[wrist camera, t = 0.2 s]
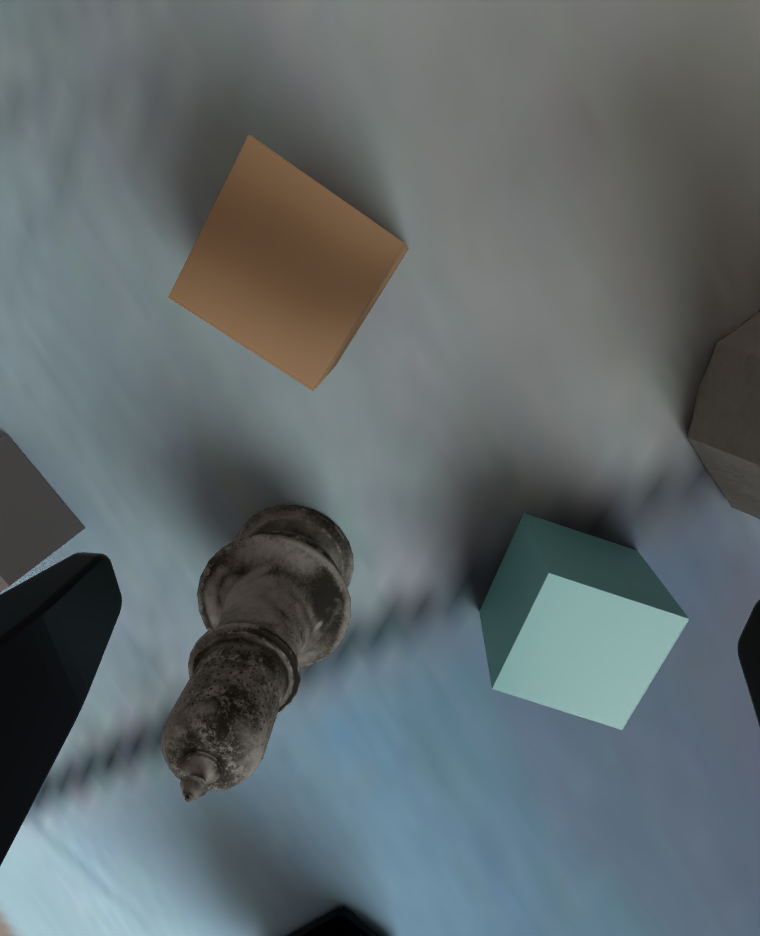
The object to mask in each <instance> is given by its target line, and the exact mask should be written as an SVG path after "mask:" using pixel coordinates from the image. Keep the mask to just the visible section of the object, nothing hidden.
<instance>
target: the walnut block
mask: <svg viewBox="0 0 760 936" xmlns="http://www.w3.org/2000/svg"><path fill="white" fill-rule="evenodd" d="M407 250H408V248H407V246H406V245H405V243H404V242H402V241H401V240H399V239H398V238H396V237H395V236H394V235H392V234H391V233H389V232H388V231H386V230H385V229H384V228H382V227H381V226H379V225H378V224H376V223H375V222H374V221H372V220H371V219H369V218H368V217H366V216H365V215H364V214H362V213H361V212H359V211H358V210H356V209H355V208H354V207H352V206H351V205H349V204H348V203H346V202H345V201H344V200H342V199H341V198H339V197H338V196H336V195H335V194H334V193H332V192H331V191H329V190H328V189H326V188H325V187H324V186H322V185H321V184H319V183H318V182H316V181H315V180H314V179H312V178H311V177H309V176H308V175H306V174H305V173H304V172H302V171H301V170H299V169H298V168H296V167H295V166H294V165H292V164H291V163H289V162H288V161H286V160H285V159H284V158H282V157H281V156H279V155H278V154H276V153H275V152H274V151H272V150H271V149H269V148H268V147H266V146H265V145H264V144H262V143H261V142H259V141H258V140H256V139H255V138H254V137H252V136H251V135H248V137H247V139H246V141H245V143H244V145H243V147H242V149H241V151H240V153H239V155H238V157H237V159H236V161H235V163H234V165H233V167H232V169H231V171H230V173H229V175H228V177H227V179H226V181H225V183H224V185H223V187H222V189H221V191H220V193H219V195H218V197H217V200H216V202H215V204H214V206H213V208H212V210H211V212H210V214H209V216H208V218H207V220H206V222H205V224H204V226H203V228H202V230H201V232H200V234H199V236H198V238H197V240H196V242H195V244H194V246H193V248H192V250H191V252H190V254H189V256H188V258H187V260H186V262H185V264H184V266H183V268H182V271H181V273H180V275H179V277H178V279H177V281H176V283H175V285H174V287H173V289H172V291H171V293H170V295H169V298H170V299H172V300H173V301H175V302H176V303H178V304H179V305H181V306H182V307H184V308H186V309H187V310H189V311H190V312H192V313H193V314H195V315H196V316H198V317H200V318H201V319H203V320H204V321H206V322H207V323H209V324H210V325H212V326H213V327H215V328H217V329H218V330H220V331H221V332H223V333H224V334H226V335H227V336H229V337H230V338H232V339H234V340H235V341H237V342H238V343H240V344H241V345H243V346H244V347H246V348H247V349H249V350H251V351H252V352H254V353H255V354H257V355H258V356H260V357H261V358H263V359H264V360H266V361H268V362H269V363H271V364H272V365H274V366H275V367H277V368H278V369H280V370H281V371H283V372H285V373H286V374H288V375H289V376H291V377H292V378H294V379H295V380H297V381H298V382H300V383H302V384H303V385H305V386H306V387H308V388H309V389H311V390H312V391H313V390H314V389H315V388H316V387H317V386H318V385H319V384H320V383H321V381H322V380H323V379H324V378H325V377H326V376H327V375H328V374H329V373H330V371H331V370H332V369H333V368H334V367H335V366H336V364H337V363H338V361H339V360H340V358H341V356H342V355H343V353H344V352H345V350H346V348H347V347H348V345H349V344H350V342H351V340H352V339H353V337H354V336H355V334H356V332H357V331H358V329H359V327H360V326H361V324H362V323H363V321H364V319H365V318H366V316H367V315H368V313H369V311H370V310H371V308H372V307H373V305H374V303H375V302H376V300H377V299H378V297H379V295H380V294H381V292H382V290H383V289H384V287H385V286H386V284H387V282H388V281H389V279H390V278H391V276H392V274H393V273H394V271H395V270H396V268H397V266H398V265H399V263H400V262H401V260H402V258H403V257H404V255H405V253H406V252H407Z"/></svg>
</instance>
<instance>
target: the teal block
mask: <svg viewBox="0 0 760 936" xmlns="http://www.w3.org/2000/svg"><path fill="white" fill-rule="evenodd" d="M479 613H480V619H481V625H482V631H483V637H484V643H485V649H486V655H487V661H488V667H489V673H490V679H491V685H492V689H494V690H498V691H501V692H504V693H507V694H510V695H513V696H516V697H520V698H523V699H526V700H529V701H532V702H535V703H539V704H542V705H545V706H548V707H551V708H554V709H558V710H561V711H564V712H567V713H570V714H573V715H576V716H580V717H583V718H586V719H589V720H592V721H595V722H599V723H602V724H605V725H608V726H611V727H614V728H617V729H621V730H622V729H623V728H624V726H625V724H626V723H627V721H628V719H629V718H630V716H631V714H632V713H633V711H634V709H635V708H636V706H637V704H638V703H639V701H640V699H641V698H642V696H643V695H644V693H645V691H646V690H647V688H648V686H649V685H650V683H651V681H652V680H653V678H654V676H655V675H656V673H657V671H658V670H659V668H660V666H661V665H662V663H663V662H664V660H665V658H666V657H667V655H668V653H669V652H670V650H671V648H672V647H673V645H674V643H675V642H676V640H677V638H678V637H679V635H680V633H681V632H682V630H683V629H684V627H685V625H686V624H687V622H688V620H689V618H688V617H687V615H686V614H685V613H684V611H683V610H682V609H681V607H680V606H679V605H678V603H677V602H676V601H675V600H674V598H673V597H672V596H671V594H670V593H669V592H668V590H667V589H666V588H665V586H664V585H663V584H662V582H661V581H660V580H659V578H658V577H657V576H656V575H655V573H654V572H653V571H652V569H651V568H650V567H649V565H648V564H647V563H646V561H645V560H644V559H643V557H642V556H641V555H640V553H639V552H638V551H637V550H634V549H631V548H628V547H625V546H622V545H619V544H616V543H613V542H610V541H607V540H604V539H601V538H598V537H595V536H592V535H589V534H586V533H583V532H580V531H577V530H574V529H571V528H568V527H565V526H562V525H559V524H556V523H553V522H550V521H547V520H543V519H540V518H537V517H534V516H531V515H528V514H525V513H524V514H523V516H522V518H521V520H520V523H519V525H518V527H517V529H516V531H515V534H514V536H513V538H512V540H511V542H510V545H509V547H508V549H507V551H506V554H505V556H504V558H503V560H502V562H501V565H500V567H499V569H498V571H497V573H496V576H495V578H494V580H493V582H492V585H491V587H490V589H489V591H488V593H487V596H486V598H485V600H484V602H483V604H482V607H481V609H480V611H479Z"/></svg>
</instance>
